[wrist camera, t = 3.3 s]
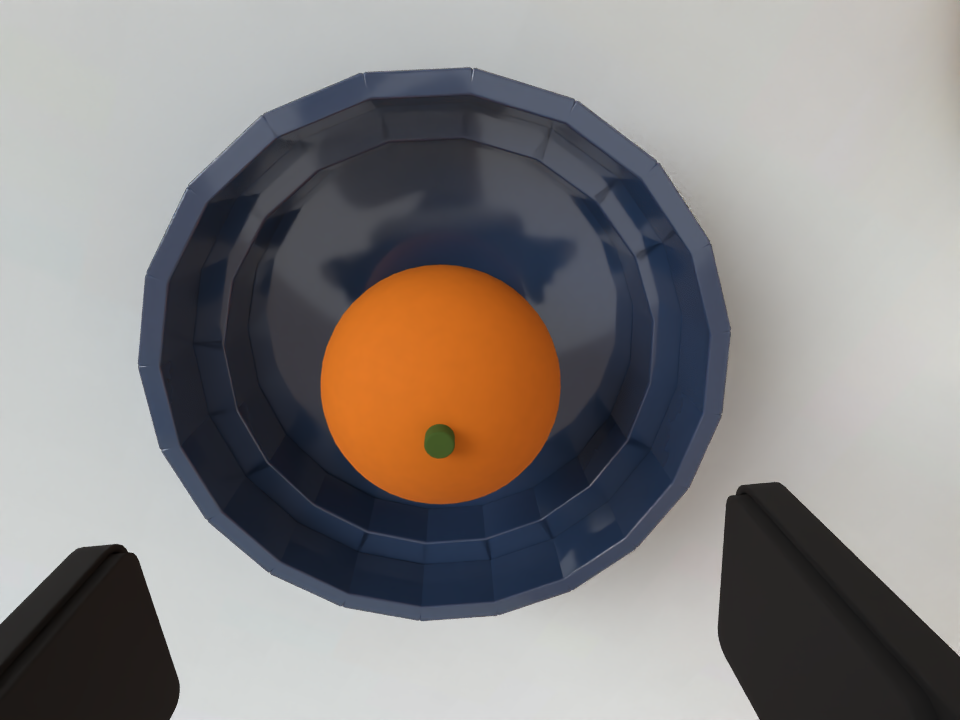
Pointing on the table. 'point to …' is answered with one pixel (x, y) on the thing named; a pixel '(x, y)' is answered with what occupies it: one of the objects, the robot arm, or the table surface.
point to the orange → (440, 384)
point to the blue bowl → (413, 243)
